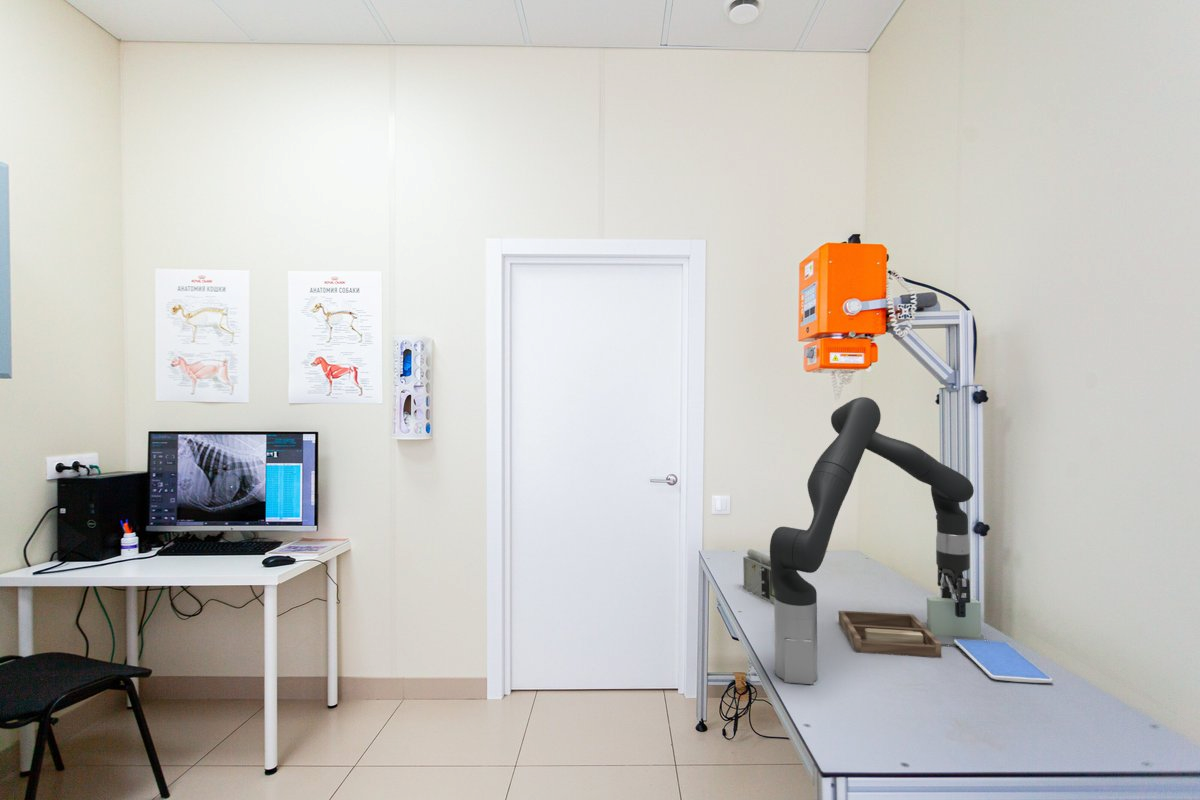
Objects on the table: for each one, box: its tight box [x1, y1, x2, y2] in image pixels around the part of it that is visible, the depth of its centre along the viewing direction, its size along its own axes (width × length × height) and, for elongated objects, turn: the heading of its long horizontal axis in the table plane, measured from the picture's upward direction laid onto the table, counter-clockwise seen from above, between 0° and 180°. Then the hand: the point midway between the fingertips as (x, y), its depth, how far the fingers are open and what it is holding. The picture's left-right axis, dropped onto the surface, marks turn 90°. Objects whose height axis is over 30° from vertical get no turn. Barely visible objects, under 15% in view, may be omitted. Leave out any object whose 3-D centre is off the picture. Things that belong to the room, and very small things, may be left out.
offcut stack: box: [864, 628, 923, 644], centre depth 144 cm, size 4×13×4 cm, turn 79°
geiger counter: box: [742, 548, 774, 605], centre depth 179 cm, size 14×6×25 cm
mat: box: [921, 622, 988, 647], centre depth 151 cm, size 14×14×1 cm
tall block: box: [926, 596, 982, 637], centre depth 151 cm, size 2×12×9 cm, turn 79°
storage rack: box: [838, 610, 942, 658], centre depth 149 cm, size 19×19×4 cm
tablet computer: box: [954, 639, 1054, 684], centre depth 135 cm, size 19×13×1 cm, turn 171°
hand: (953, 610), depth 151 cm, fingers open, 8 cm apart
